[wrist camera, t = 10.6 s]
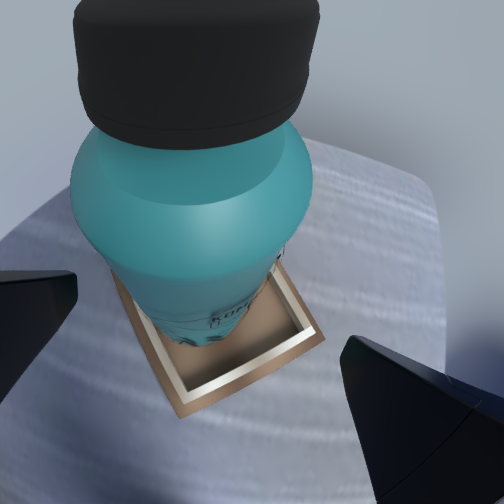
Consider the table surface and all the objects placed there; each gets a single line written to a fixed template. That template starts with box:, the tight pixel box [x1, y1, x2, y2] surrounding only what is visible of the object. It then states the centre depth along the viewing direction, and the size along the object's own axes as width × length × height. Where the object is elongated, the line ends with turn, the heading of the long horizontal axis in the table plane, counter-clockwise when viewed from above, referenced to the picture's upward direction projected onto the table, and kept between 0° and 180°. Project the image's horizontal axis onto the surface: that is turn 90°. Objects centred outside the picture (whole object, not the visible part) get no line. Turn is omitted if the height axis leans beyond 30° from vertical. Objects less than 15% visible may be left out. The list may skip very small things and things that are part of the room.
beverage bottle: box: [70, 0, 320, 348], centre depth 12 cm, size 6×7×20 cm
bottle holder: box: [110, 258, 325, 419], centre depth 21 cm, size 12×12×2 cm
